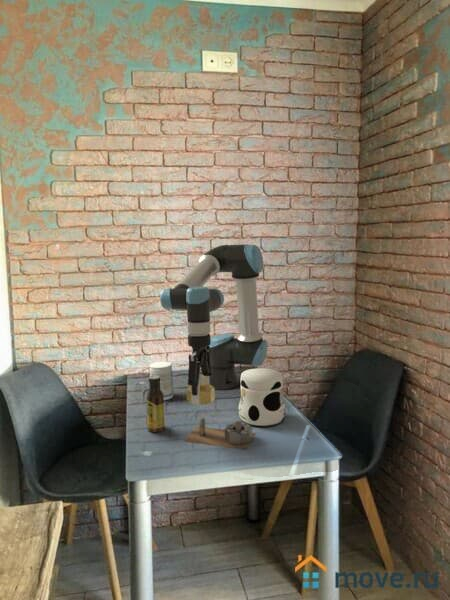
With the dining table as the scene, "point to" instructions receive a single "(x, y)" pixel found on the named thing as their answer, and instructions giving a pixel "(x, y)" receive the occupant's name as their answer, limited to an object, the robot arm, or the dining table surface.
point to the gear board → (213, 435)
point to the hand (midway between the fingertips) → (201, 398)
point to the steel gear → (238, 434)
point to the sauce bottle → (155, 405)
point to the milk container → (261, 397)
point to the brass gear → (203, 394)
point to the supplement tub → (164, 377)
